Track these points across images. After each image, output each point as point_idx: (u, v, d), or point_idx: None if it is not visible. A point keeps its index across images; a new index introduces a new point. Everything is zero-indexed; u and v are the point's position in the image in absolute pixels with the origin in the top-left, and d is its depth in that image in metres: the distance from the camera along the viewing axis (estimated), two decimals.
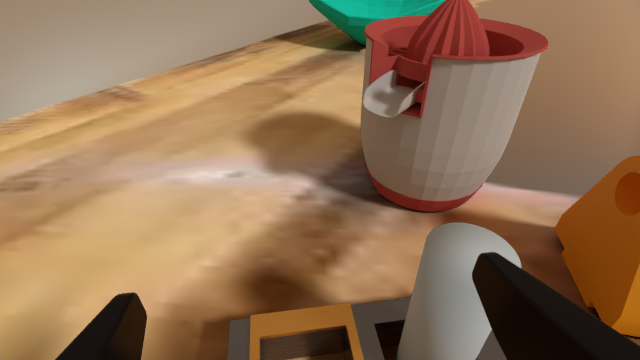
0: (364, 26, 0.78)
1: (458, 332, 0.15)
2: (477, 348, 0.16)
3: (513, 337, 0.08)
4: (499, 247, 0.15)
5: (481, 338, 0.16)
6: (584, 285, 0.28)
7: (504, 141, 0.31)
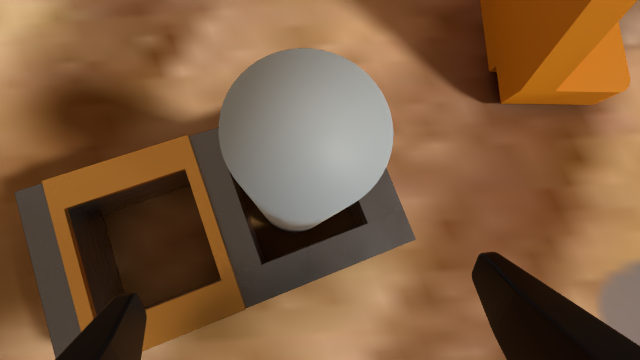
0: None
1: (298, 223, 0.10)
2: None
3: (513, 337, 0.08)
4: (363, 104, 0.08)
5: None
6: (494, 45, 0.22)
7: None
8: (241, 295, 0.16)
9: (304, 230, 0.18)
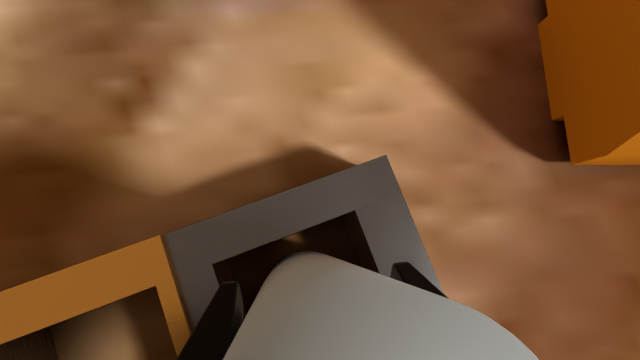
0: None
1: None
2: None
3: None
4: None
5: None
6: (560, 88, 0.17)
7: None
8: None
9: None
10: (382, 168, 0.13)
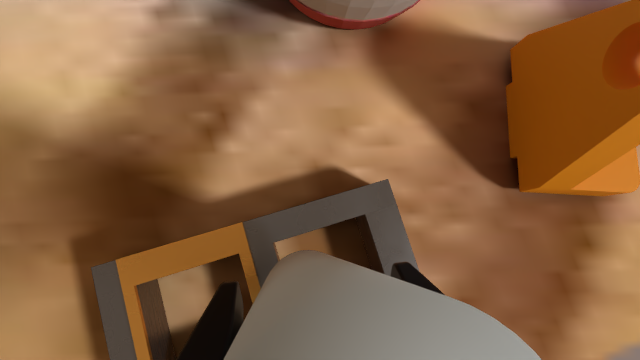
0: None
1: None
2: None
3: None
4: None
5: None
6: (516, 136, 0.24)
7: None
8: None
9: None
10: (384, 187, 0.20)
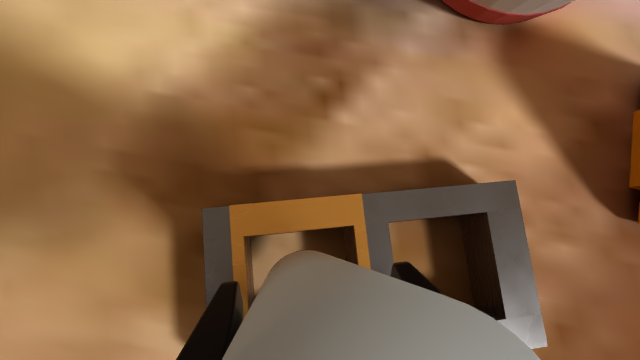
0: None
1: None
2: None
3: None
4: None
5: None
6: None
7: None
8: None
9: None
10: (510, 188, 0.19)
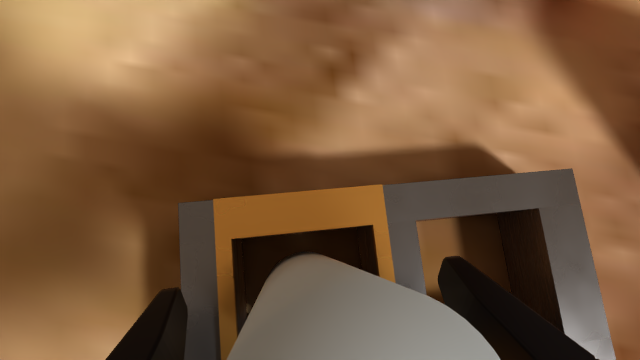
0: None
1: None
2: None
3: None
4: None
5: None
6: None
7: None
8: None
9: None
10: (567, 179, 0.15)
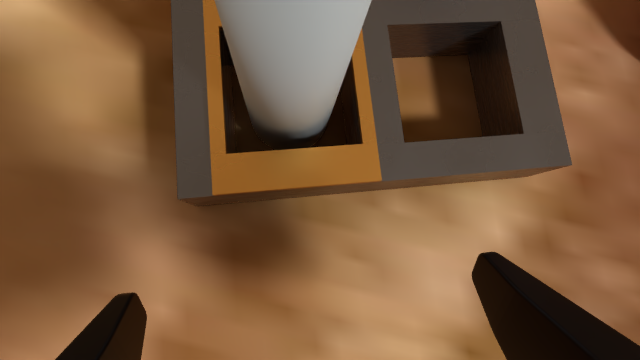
0: None
1: (288, 51, 0.08)
2: (334, 71, 0.10)
3: (513, 337, 0.08)
4: None
5: (336, 55, 0.09)
6: None
7: None
8: (378, 166, 0.14)
9: (299, 140, 0.15)
10: None
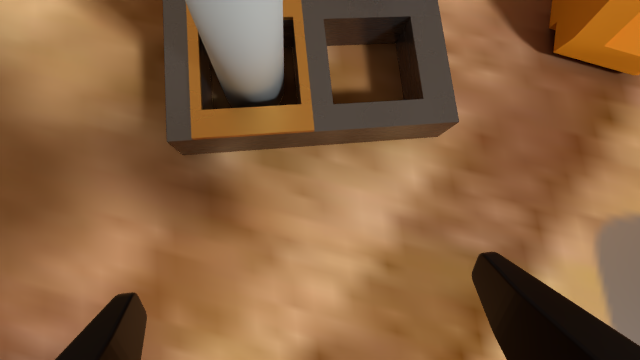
0: None
1: (228, 30, 0.13)
2: (265, 45, 0.15)
3: (513, 337, 0.08)
4: None
5: (261, 33, 0.14)
6: (559, 5, 0.26)
7: None
8: (313, 121, 0.20)
9: (258, 104, 0.21)
10: None
